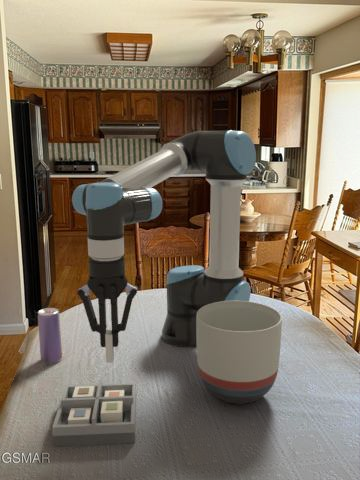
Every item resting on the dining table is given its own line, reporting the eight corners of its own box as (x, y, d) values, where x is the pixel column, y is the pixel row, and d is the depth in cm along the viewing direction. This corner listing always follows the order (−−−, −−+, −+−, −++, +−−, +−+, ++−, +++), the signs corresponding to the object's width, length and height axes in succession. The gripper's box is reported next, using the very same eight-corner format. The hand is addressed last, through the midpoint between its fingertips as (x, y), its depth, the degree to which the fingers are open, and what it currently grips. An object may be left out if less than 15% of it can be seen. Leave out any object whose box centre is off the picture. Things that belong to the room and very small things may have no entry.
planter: (196, 374, 130) (196, 300, 125) (271, 375, 129) (274, 300, 124) (196, 418, 110) (196, 331, 105) (285, 419, 109) (289, 332, 105)
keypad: (136, 397, 118) (136, 376, 117) (134, 442, 101) (134, 418, 100) (67, 400, 117) (65, 379, 116) (53, 446, 100) (51, 421, 99)
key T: (92, 420, 107) (91, 406, 107) (89, 432, 103) (88, 418, 102) (71, 421, 107) (70, 407, 106) (68, 433, 103) (67, 419, 102)
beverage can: (56, 365, 135) (53, 315, 132) (37, 363, 136) (33, 314, 133) (65, 356, 141) (62, 308, 138) (46, 354, 142) (43, 306, 139)
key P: (123, 413, 108) (122, 400, 107) (122, 425, 103) (121, 411, 102) (102, 414, 107) (102, 400, 107) (101, 426, 103) (100, 412, 102)
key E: (95, 398, 114) (94, 385, 113) (92, 408, 110) (92, 395, 109) (75, 398, 114) (75, 385, 113) (73, 409, 109) (72, 396, 109)
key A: (124, 402, 115) (124, 389, 114) (123, 412, 110) (123, 399, 110) (105, 402, 114) (105, 389, 114) (104, 413, 110) (103, 400, 109)
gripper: (138, 251, 105) (140, 351, 110) (78, 252, 104) (83, 352, 109) (136, 260, 97) (139, 366, 103) (72, 261, 97) (77, 368, 102)
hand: (110, 359), depth 106 cm, fingers closed
